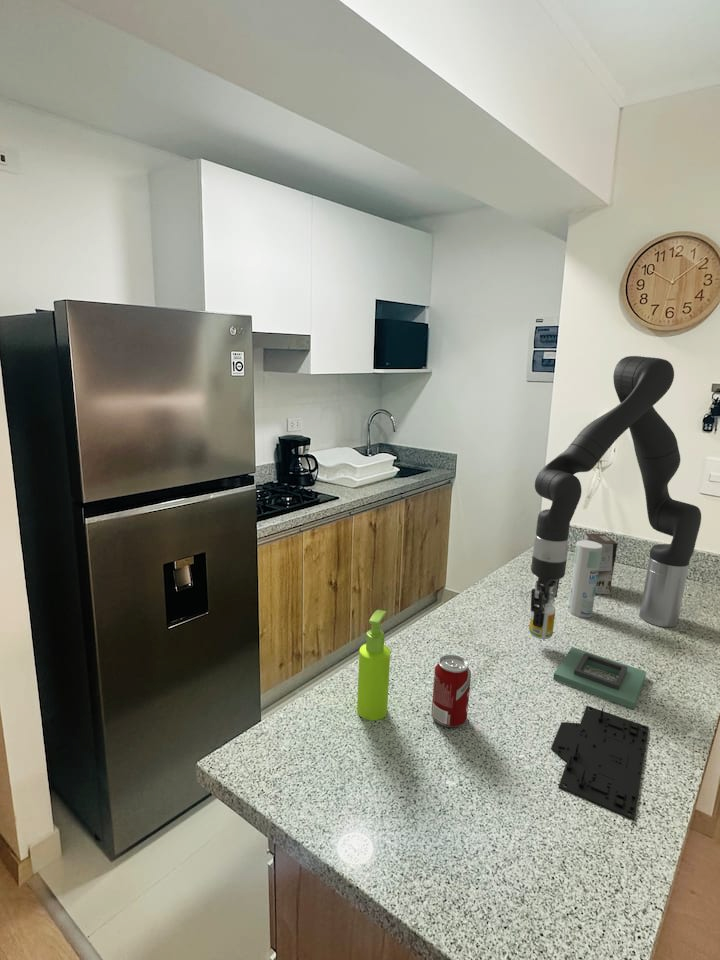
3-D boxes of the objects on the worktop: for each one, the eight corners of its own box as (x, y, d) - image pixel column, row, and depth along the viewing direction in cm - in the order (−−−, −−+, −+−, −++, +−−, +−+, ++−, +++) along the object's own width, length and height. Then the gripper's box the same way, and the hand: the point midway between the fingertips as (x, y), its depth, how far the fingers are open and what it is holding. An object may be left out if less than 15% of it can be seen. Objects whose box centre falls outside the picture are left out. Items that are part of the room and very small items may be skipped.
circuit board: (633, 823, 82) (636, 806, 81) (538, 781, 89) (540, 766, 88) (648, 730, 102) (650, 716, 102) (569, 703, 110) (571, 690, 109)
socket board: (571, 652, 128) (572, 642, 127) (645, 677, 119) (647, 667, 118) (553, 679, 117) (554, 669, 116) (633, 709, 108) (635, 698, 107)
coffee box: (610, 594, 160) (618, 543, 156) (589, 593, 160) (596, 542, 156) (598, 581, 169) (605, 533, 165) (577, 581, 169) (584, 532, 165)
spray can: (584, 620, 144) (594, 550, 139) (562, 610, 149) (571, 542, 144) (596, 613, 148) (607, 545, 143) (574, 604, 153) (584, 538, 148)
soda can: (445, 734, 99) (449, 677, 96) (424, 712, 104) (428, 657, 102) (473, 724, 102) (479, 668, 99) (452, 703, 108) (456, 649, 105)
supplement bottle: (549, 629, 131) (553, 592, 129) (554, 640, 126) (559, 603, 124) (526, 627, 132) (530, 591, 129) (531, 639, 126) (535, 601, 124)
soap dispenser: (392, 702, 107) (397, 610, 103) (382, 723, 101) (387, 627, 96) (364, 695, 109) (368, 605, 104) (352, 716, 103) (356, 621, 98)
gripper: (556, 568, 116) (548, 638, 120) (575, 549, 127) (566, 614, 131) (522, 560, 120) (515, 628, 124) (543, 542, 132) (536, 605, 136)
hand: (542, 620), depth 128 cm, fingers closed on supplement bottle, 5 cm apart
